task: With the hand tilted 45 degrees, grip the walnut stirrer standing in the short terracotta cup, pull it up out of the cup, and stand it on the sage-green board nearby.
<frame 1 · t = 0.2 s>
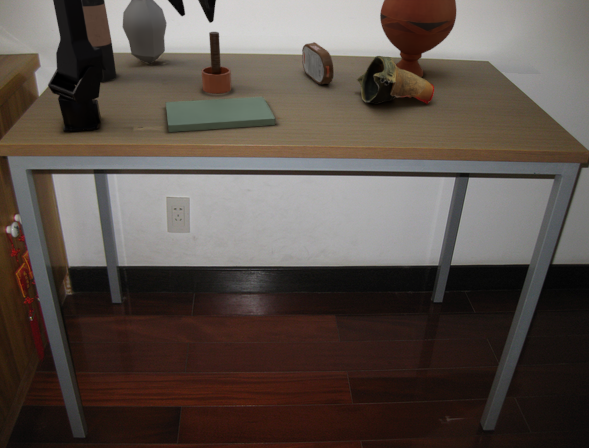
hand: (197, 18, 116), 15 cm above the table, tool pointing down, fingers open, 9 cm apart
cup: (217, 90, 121), on the table
stirrer: (217, 88, 120), point 1 cm above the table, touching cup
bottle: (150, 64, 137), on the table
pot: (386, 103, 118), on the table
board: (219, 116, 108), on the table
tin: (315, 80, 131), on the table
travel mug: (101, 78, 126), on the table
goblet: (407, 74, 138), on the table
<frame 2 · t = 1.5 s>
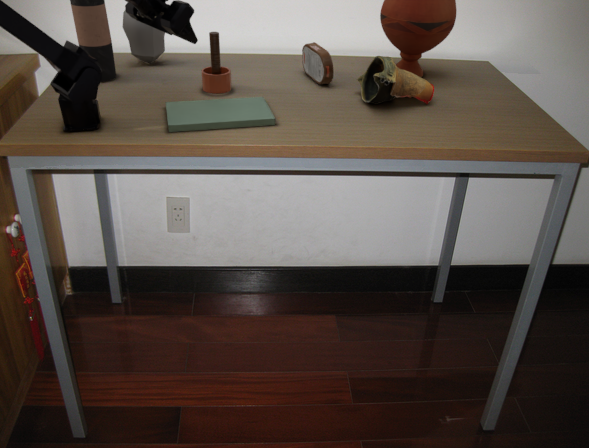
hand: (184, 37, 109), 14 cm above the table, tool tilted 40°, fingers open, 9 cm apart
nothing on the table moved.
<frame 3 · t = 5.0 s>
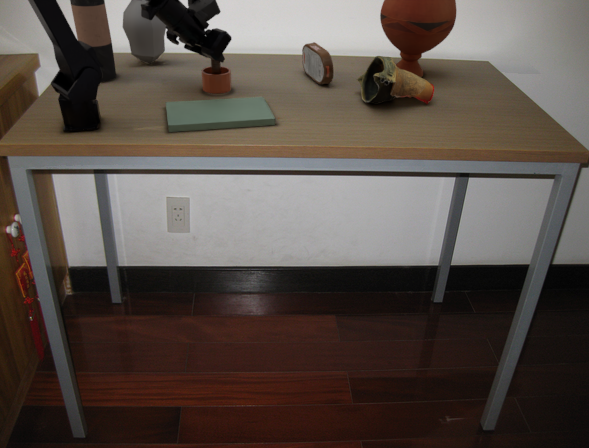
hand: (220, 59, 117), 7 cm above the table, tool tilted 45°, fingers closed on stirrer, 2 cm apart
stirrer: (217, 88, 120), point 1 cm above the table, touching cup, gripper
everything else where it was.
when the fingers open (8 cm above the table, at t = 12.6 s): stirrer stays where it is, resting on board.
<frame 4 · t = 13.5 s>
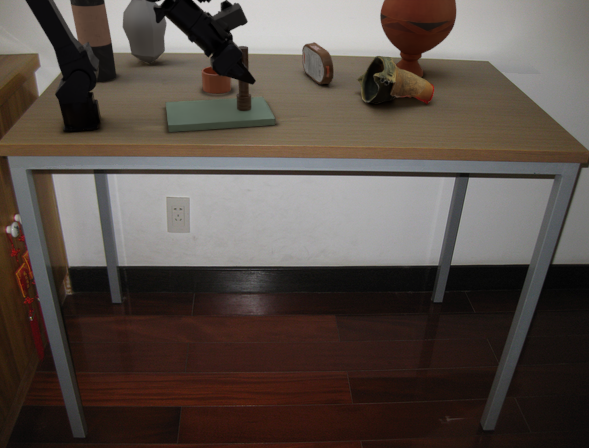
hand: (250, 75, 104), 9 cm above the table, tool tilted 45°, fingers open, 9 cm apart
stirrer: (244, 108, 108), point 1 cm above the table, touching board
everything else where it was.
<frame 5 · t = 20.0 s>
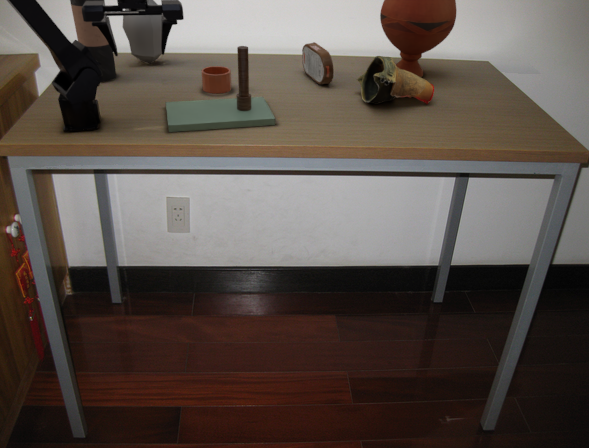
hand: (140, 55, 102), 12 cm above the table, tool pointing down, fingers open, 9 cm apart
nothing on the table moved.
at the end: stirrer inside the target area on the board (5.5 cm from its centre), point 1.5 cm above the board's base; stirrer touching board; the gripper is holding nothing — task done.
